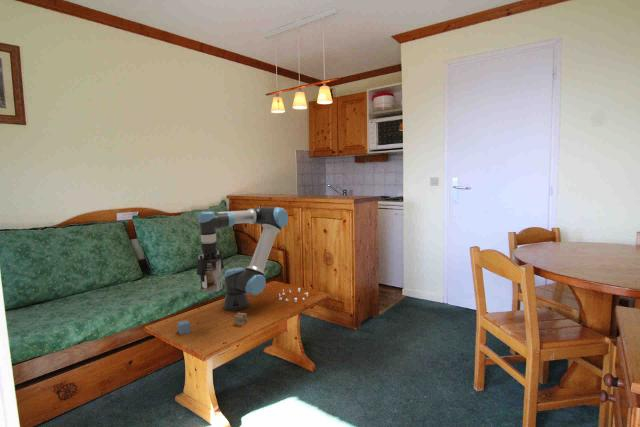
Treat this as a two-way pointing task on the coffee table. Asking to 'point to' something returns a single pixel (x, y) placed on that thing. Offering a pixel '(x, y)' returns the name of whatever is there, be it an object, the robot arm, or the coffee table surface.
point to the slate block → (183, 327)
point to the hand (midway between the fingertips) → (211, 285)
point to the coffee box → (213, 276)
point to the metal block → (240, 319)
